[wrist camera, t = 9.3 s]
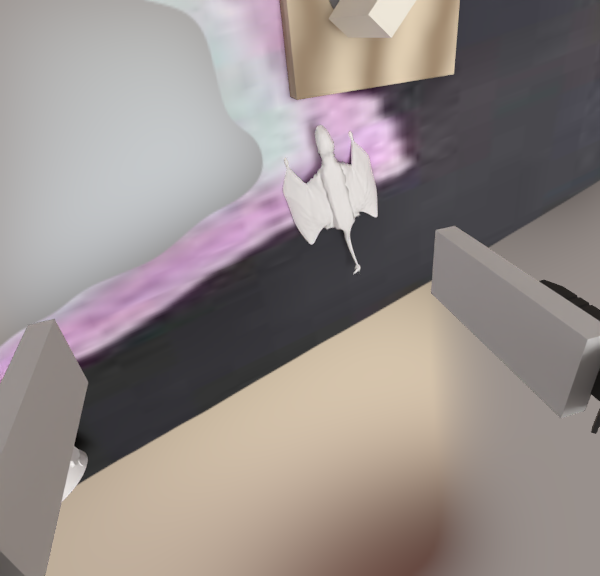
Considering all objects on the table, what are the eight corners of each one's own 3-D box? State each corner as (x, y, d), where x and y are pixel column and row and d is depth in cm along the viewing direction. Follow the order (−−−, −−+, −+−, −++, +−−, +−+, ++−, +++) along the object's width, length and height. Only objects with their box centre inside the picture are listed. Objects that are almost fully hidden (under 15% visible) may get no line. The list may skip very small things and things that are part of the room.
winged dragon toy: (387, 247, 53) (403, 262, 49) (313, 279, 52) (324, 296, 49) (355, 101, 43) (372, 107, 39) (263, 139, 42) (272, 148, 39)
